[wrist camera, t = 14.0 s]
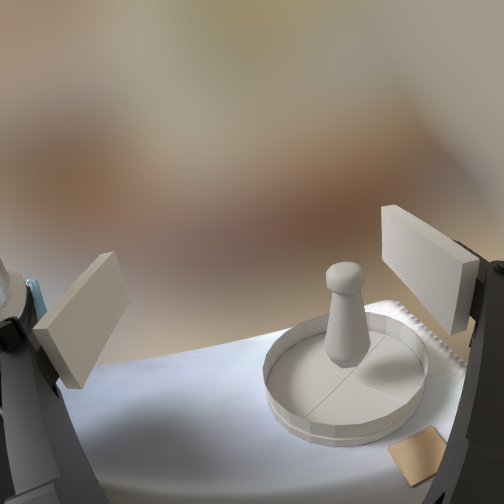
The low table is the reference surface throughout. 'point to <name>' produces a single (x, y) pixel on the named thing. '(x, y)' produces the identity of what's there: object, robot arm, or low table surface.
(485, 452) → the robot arm
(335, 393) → the dish
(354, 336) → the salt shaker
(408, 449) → the cork coaster
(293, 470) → the low table surface
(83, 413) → the low table surface
